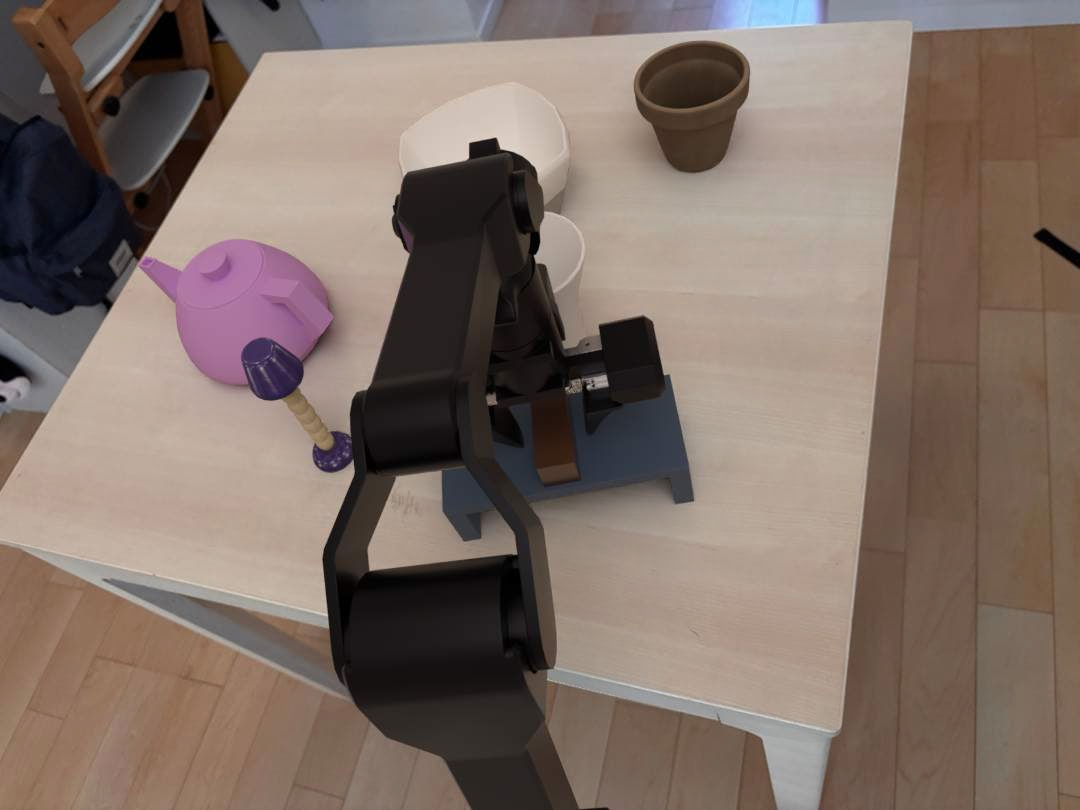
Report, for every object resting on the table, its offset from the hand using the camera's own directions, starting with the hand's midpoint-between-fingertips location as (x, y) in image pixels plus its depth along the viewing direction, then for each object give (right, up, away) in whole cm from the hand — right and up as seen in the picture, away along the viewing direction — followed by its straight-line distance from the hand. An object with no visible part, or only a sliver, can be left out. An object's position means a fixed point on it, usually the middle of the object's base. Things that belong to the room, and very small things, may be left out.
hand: (555, 436), depth 70 cm
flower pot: (+16, +30, +24) cm, 42 cm away
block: (0, 0, +1) cm, 1 cm away
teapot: (-31, +10, +23) cm, 40 cm away
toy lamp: (-21, -2, +13) cm, 24 cm away
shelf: (+1, -4, +6) cm, 7 cm away
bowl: (-5, +24, +26) cm, 36 cm away
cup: (0, +8, +14) cm, 16 cm away
